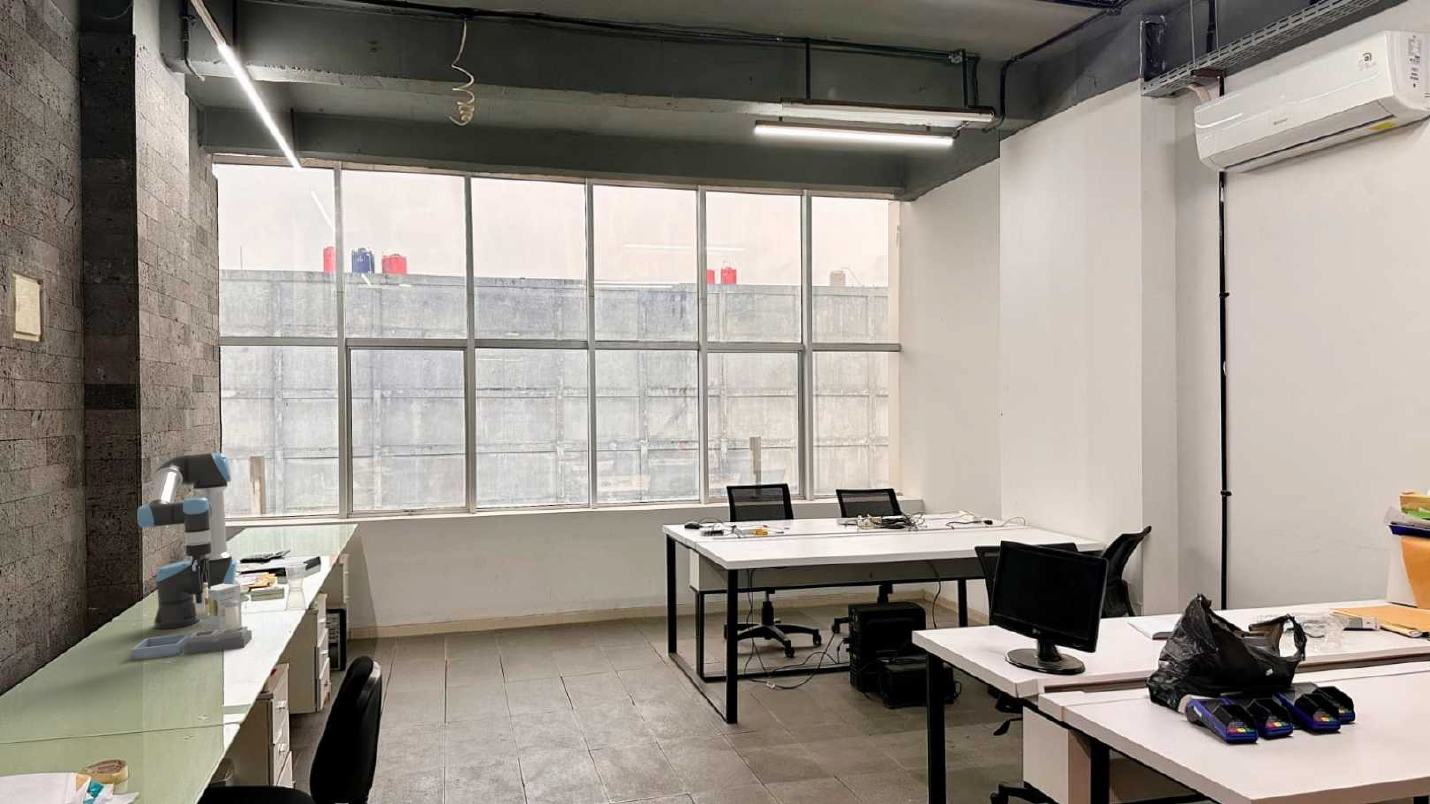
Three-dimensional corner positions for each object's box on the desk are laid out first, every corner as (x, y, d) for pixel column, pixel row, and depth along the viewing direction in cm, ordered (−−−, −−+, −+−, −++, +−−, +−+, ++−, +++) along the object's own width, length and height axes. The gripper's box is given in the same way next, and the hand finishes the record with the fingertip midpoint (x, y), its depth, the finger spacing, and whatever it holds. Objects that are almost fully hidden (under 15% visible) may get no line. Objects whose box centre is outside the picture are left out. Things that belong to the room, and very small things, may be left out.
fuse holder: (194, 645, 305) (192, 602, 304) (251, 638, 310) (249, 596, 309) (185, 654, 294) (182, 610, 294) (244, 647, 299) (241, 603, 299)
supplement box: (202, 634, 319) (199, 588, 318) (224, 627, 327) (222, 583, 327) (220, 636, 315) (217, 590, 315) (243, 629, 324) (240, 584, 323)
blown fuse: (198, 617, 302) (195, 582, 302) (211, 615, 303) (209, 581, 303) (194, 620, 298) (192, 585, 298) (208, 618, 299) (205, 584, 299)
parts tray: (146, 648, 304) (145, 638, 304) (191, 643, 308) (190, 633, 308) (131, 660, 290) (130, 649, 290) (178, 654, 294) (178, 644, 294)
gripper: (193, 539, 307) (197, 605, 308) (177, 548, 291) (182, 618, 291) (217, 537, 309) (221, 603, 310) (203, 546, 293) (207, 615, 294)
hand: (202, 610), depth 301 cm, fingers closed on blown fuse, 4 cm apart
